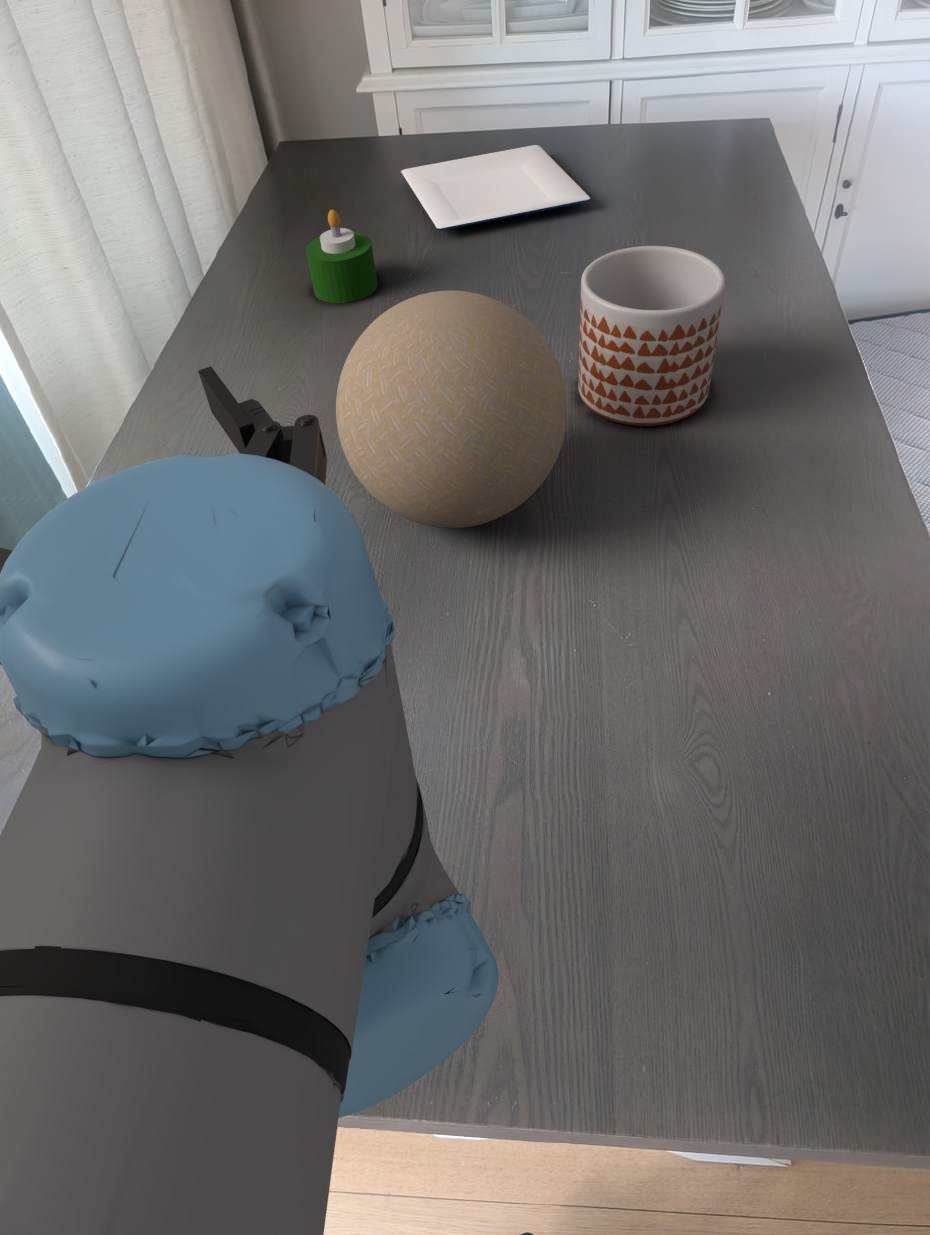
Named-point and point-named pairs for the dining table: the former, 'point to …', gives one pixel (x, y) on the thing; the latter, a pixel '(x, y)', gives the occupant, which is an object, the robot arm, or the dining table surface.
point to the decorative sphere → (451, 409)
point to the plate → (492, 187)
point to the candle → (341, 264)
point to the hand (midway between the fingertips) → (90, 431)
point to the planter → (648, 333)
